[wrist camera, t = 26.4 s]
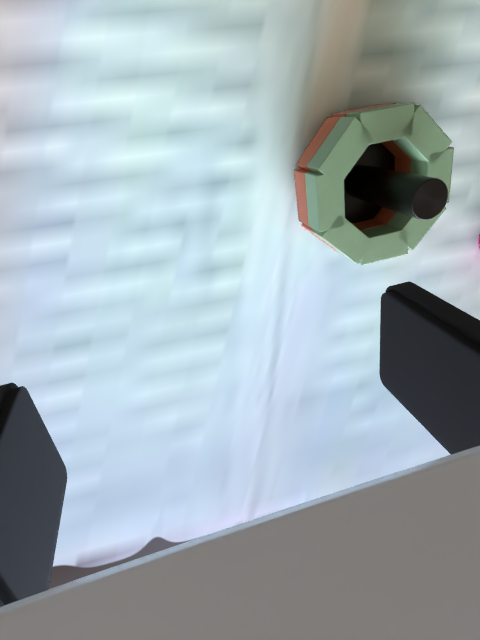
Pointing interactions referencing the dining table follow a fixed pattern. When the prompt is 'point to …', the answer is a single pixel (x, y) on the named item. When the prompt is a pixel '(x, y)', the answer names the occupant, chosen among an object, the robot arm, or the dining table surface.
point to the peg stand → (389, 188)
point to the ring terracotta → (380, 219)
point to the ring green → (341, 155)
